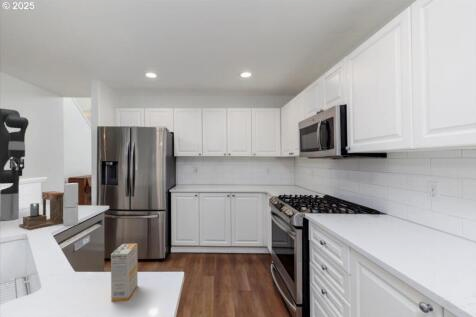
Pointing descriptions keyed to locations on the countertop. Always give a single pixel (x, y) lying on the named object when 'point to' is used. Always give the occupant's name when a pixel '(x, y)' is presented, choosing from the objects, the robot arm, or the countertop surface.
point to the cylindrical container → (70, 204)
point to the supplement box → (123, 272)
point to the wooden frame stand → (42, 220)
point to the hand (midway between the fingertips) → (16, 175)
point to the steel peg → (34, 210)
